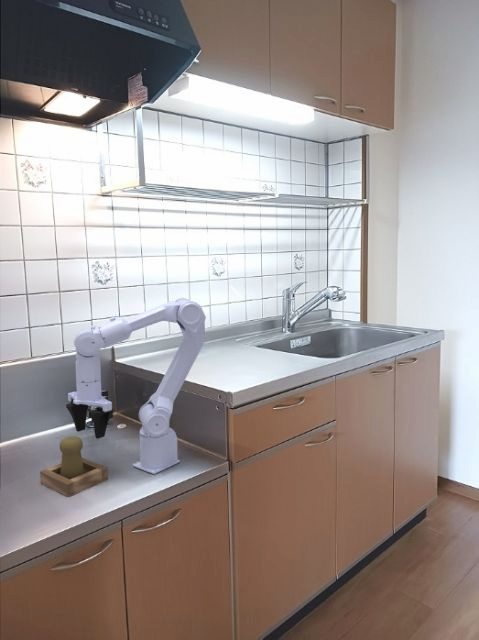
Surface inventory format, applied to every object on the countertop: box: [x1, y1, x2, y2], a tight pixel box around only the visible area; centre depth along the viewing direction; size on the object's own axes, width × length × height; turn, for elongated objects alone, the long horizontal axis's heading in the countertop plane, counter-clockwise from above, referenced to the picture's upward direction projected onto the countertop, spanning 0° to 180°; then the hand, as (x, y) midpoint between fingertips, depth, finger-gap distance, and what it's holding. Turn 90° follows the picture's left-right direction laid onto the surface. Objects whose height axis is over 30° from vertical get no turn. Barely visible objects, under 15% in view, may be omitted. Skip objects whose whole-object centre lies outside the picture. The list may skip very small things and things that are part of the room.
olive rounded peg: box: [59, 435, 85, 480], centre depth 118 cm, size 6×6×11 cm
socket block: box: [39, 457, 109, 498], centre depth 119 cm, size 11×11×3 cm
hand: (90, 433), depth 122 cm, fingers open, 7 cm apart
